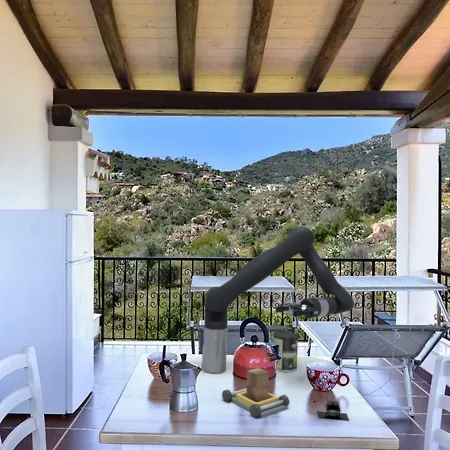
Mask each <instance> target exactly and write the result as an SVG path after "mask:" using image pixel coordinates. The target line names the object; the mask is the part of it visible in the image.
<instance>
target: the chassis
mask: <svg viewBox="0 0 450 450" xmlns="http://www.w3.org/2000/svg"><path fill="white" fill-rule="evenodd" d="M221 398H222V399H223V401H224V402H225V403H227V402H231V403H232V404H235V405H236V406H238V407H240V408H242V409H243V410H246V411H247V412H249V413H250V415H251V416H252V418H258V417H259V418H260V419H264V418H267V417H269V416H271V414H272V415H275V414H277V413H280V412H283V411H286V410H287V407H289V406H290V399H289V397H288V396H287V395H286V394H282V395H280V396H278V395H275V394H272V393H270V392H268V399H267V400H264V401H260V402H257V403H256V402H254V401H252V400H250V399H248V398H247V387H246V388H243V389H239V390H235V391H231V390H230V389H224V390H222V392H221ZM274 413H275V414H274ZM268 415H269V416H268Z"/></svg>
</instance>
